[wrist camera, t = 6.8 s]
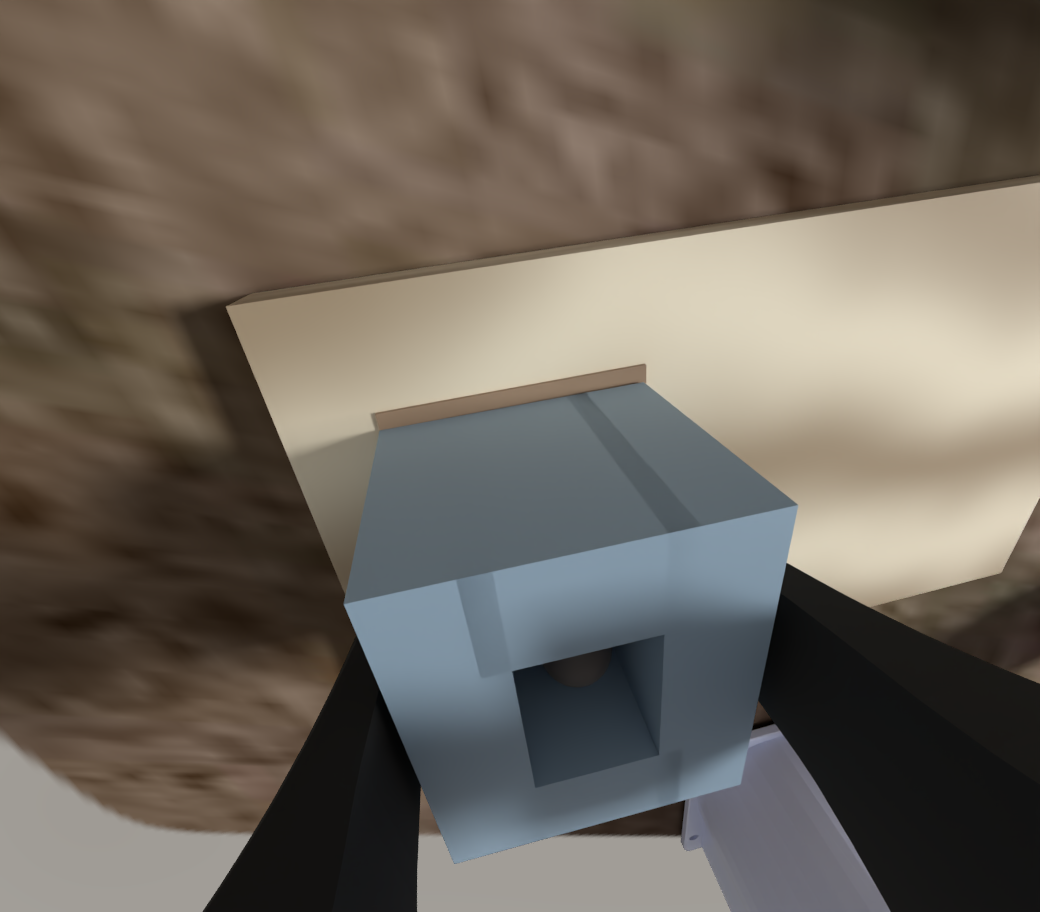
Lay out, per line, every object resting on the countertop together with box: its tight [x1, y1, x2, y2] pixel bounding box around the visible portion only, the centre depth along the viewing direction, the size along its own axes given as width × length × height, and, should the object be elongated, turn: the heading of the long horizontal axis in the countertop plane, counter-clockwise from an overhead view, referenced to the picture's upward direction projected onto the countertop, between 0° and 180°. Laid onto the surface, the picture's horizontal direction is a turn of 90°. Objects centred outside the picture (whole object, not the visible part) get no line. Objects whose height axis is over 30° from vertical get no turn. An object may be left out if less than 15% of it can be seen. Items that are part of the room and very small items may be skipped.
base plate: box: [226, 175, 1040, 688], centre depth 12 cm, size 13×22×6 cm, turn 97°
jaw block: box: [344, 382, 798, 864], centre depth 10 cm, size 7×6×5 cm
